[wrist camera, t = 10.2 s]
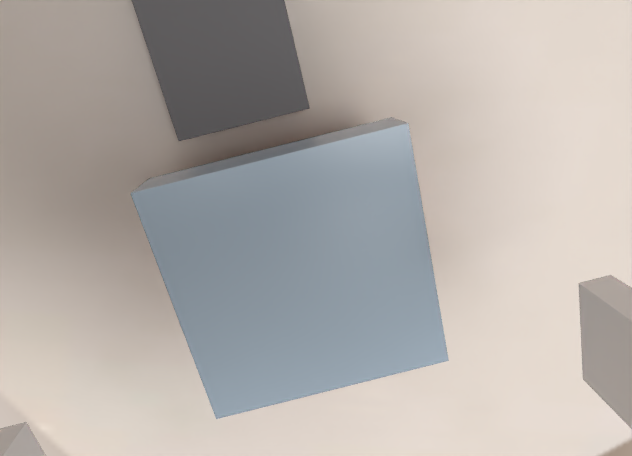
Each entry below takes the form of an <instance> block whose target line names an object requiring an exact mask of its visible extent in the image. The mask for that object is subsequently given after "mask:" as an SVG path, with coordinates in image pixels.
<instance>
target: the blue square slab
mask: <svg viewBox="0 0 632 456" xmlns="http://www.w3.org/2000/svg"><path fill="white" fill-rule="evenodd" d="M131 196H132V199H133V201H134V204H135V207H136V209H137V212H138V214H139V217H140V220H141V222H142V225H143V228H144V230H145V233H146V235H147V238H148V241H149V243H150V246H151V249H152V251H153V254H154V256H155V259H156V262H157V264H158V267H159V270H160V272H161V275H162V277H163V280H164V283H165V285H166V288H167V291H168V293H169V296H170V298H171V301H172V304H173V306H174V309H175V312H176V314H177V317H178V319H179V322H180V325H181V327H182V330H183V333H184V335H185V338H186V340H187V343H188V346H189V348H190V351H191V354H192V356H193V359H194V361H195V364H196V367H197V369H198V372H199V375H200V377H201V380H202V382H203V385H204V388H205V390H206V393H207V396H208V398H209V401H210V403H211V406H212V409H213V411H214V414H215V417H216V419H218V418H222V417H226V416H230V415H234V414H238V413H242V412H246V411H250V410H254V409H258V408H262V407H266V406H270V405H274V404H278V403H282V402H286V401H290V400H294V399H298V398H302V397H306V396H310V395H314V394H318V393H322V392H326V391H330V390H334V389H338V388H342V387H346V386H350V385H354V384H358V383H362V382H366V381H369V380H373V379H377V378H381V377H385V376H389V375H393V374H397V373H401V372H405V371H409V370H413V369H417V368H421V367H425V366H429V365H433V364H437V363H441V362H445V361H449V360H448V354H447V348H446V342H445V336H444V331H443V325H442V319H441V313H440V307H439V301H438V295H437V289H436V284H435V278H434V272H433V266H432V260H431V254H430V248H429V242H428V237H427V231H426V225H425V219H424V213H423V207H422V201H421V195H420V190H419V184H418V178H417V172H416V166H415V160H414V154H413V148H412V143H411V137H410V131H409V125H408V123H406V122H403V121H401V120H398V119H395V118H392V117H391V118H387V119H383V120H379V121H375V122H371V123H367V124H363V125H359V126H355V127H351V128H347V129H343V130H339V131H335V132H331V133H327V134H323V135H319V136H316V137H312V138H308V139H304V140H300V141H296V142H292V143H288V144H284V145H280V146H276V147H272V148H268V149H264V150H260V151H256V152H252V153H248V154H244V155H240V156H236V157H232V158H228V159H224V160H220V161H216V162H212V163H208V164H204V165H200V166H197V167H193V168H189V169H185V170H181V171H177V172H173V173H169V174H165V175H161V176H157V177H153V178H149V179H148V180H147V181H145V182H144V183H143V184H142V185H140V186H139V187H138V188H136V189H135V190H134V191H133V192H131Z"/></svg>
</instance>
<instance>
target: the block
mask: <svg viewBox="0 0 632 456" xmlns="http://www.w3.org/2000/svg"><path fill="white" fill-rule="evenodd" d="M132 2H133V5H134V8H135V11H136V14H137V17H138V20H139V23H140V26H141V29H142V32H143V35H144V38H145V41H146V44H147V47H148V50H149V53H150V56H151V59H152V62H153V65H154V68H155V71H156V74H157V77H158V80H159V83H160V86H161V89H162V92H163V95H164V98H165V101H166V104H167V107H168V110H169V113H170V116H171V119H172V122H173V125H174V128H175V131H176V134H177V137H178V140H179V141H182V140H186V139H190V138H194V137H198V136H202V135H206V134H210V133H214V132H218V131H222V130H226V129H230V128H234V127H238V126H242V125H246V124H250V123H254V122H257V121H261V120H265V119H269V118H273V117H277V116H281V115H285V114H289V113H293V112H297V111H301V110H305V109H309V104H308V99H307V95H306V91H305V87H304V82H303V78H302V74H301V70H300V65H299V61H298V57H297V53H296V49H295V44H294V40H293V36H292V32H291V27H290V23H289V19H288V15H287V10H286V6H285V2H284V0H132Z"/></svg>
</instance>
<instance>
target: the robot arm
mask: <svg viewBox="0 0 632 456" xmlns="http://www.w3.org/2000/svg"><path fill="white" fill-rule="evenodd" d="M579 302H580V325H581V347H582V370H583V380H584V381H585V382H586V383H587V384H588V385H589V386H590V387H591V388H592V389H593V390H594V391H595V392H596V393H597V394H598V395H599V396H600V397H601V398H602V399H603V400H604V401H605V402H606V403H607V404H608V405H609V406H610V407H611V408H612V409H613V410H614V411H615V412H616V413H617V414H618V415H619V416H620V417H621V418H622V420H623V421H624V422H625V423H626V424H627V425H628V426H629V427H630V428H631V429H632V288H631V287H629V286H628V285H626V284H625V283H623V282H621V281H620V280H618V279H617V278H615V277H613V276H612V275H609V276H605V277H601V278H597V279H593V280H589V281H585V282H581V283H579ZM0 456H46V455H45V454H44V452H43V450H42V448H41V446H40V445H39V443H38V441H37V439H36V438H35V436H34V434H33V432H32V431H31V429H30V427H29V425H28V424H27V422H24V423H20V424H16V425H12V426H8V427H4V428H1V429H0Z"/></svg>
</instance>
